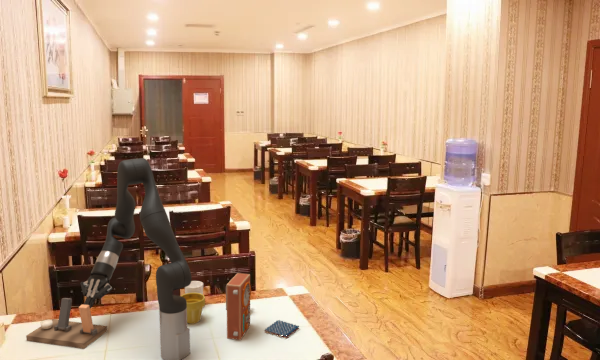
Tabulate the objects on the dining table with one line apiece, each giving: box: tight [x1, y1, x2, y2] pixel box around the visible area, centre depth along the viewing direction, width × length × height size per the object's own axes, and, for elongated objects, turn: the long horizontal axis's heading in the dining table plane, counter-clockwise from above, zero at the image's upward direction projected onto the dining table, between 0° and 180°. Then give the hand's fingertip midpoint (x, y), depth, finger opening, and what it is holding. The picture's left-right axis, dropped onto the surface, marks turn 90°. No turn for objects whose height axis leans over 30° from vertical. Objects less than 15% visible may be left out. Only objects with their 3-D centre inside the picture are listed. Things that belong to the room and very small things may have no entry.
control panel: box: [225, 272, 252, 341], centre depth 189 cm, size 21×7×15 cm
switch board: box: [25, 318, 108, 350], centre depth 185 cm, size 24×14×4 cm, turn 77°
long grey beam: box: [58, 297, 73, 330], centre depth 186 cm, size 3×2×12 cm, turn 77°
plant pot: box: [180, 293, 206, 325], centre depth 199 cm, size 10×10×10 cm
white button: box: [40, 319, 53, 329], centre depth 187 cm, size 4×4×2 cm
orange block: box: [78, 303, 94, 334], centre depth 182 cm, size 3×2×12 cm, turn 77°
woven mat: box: [263, 319, 300, 339], centre depth 192 cm, size 10×11×2 cm
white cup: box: [184, 280, 204, 295], centre depth 212 cm, size 8×8×10 cm
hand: (86, 308), depth 181 cm, fingers closed
